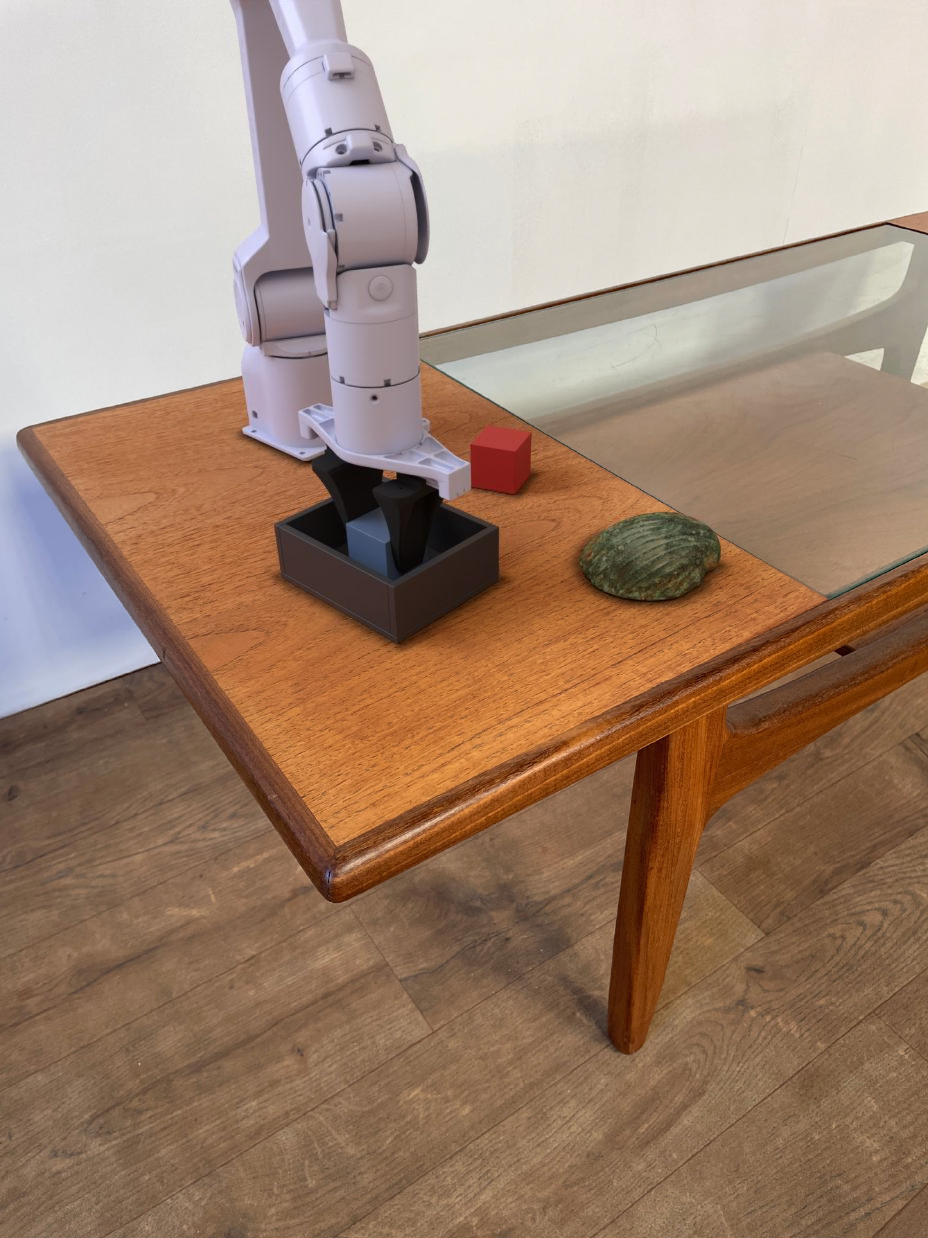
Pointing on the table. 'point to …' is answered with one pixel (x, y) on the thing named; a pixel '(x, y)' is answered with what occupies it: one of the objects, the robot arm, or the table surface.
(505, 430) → the red block
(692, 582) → the seashell
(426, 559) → the blue block
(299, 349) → the robot arm
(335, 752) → the table surface
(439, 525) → the bin
